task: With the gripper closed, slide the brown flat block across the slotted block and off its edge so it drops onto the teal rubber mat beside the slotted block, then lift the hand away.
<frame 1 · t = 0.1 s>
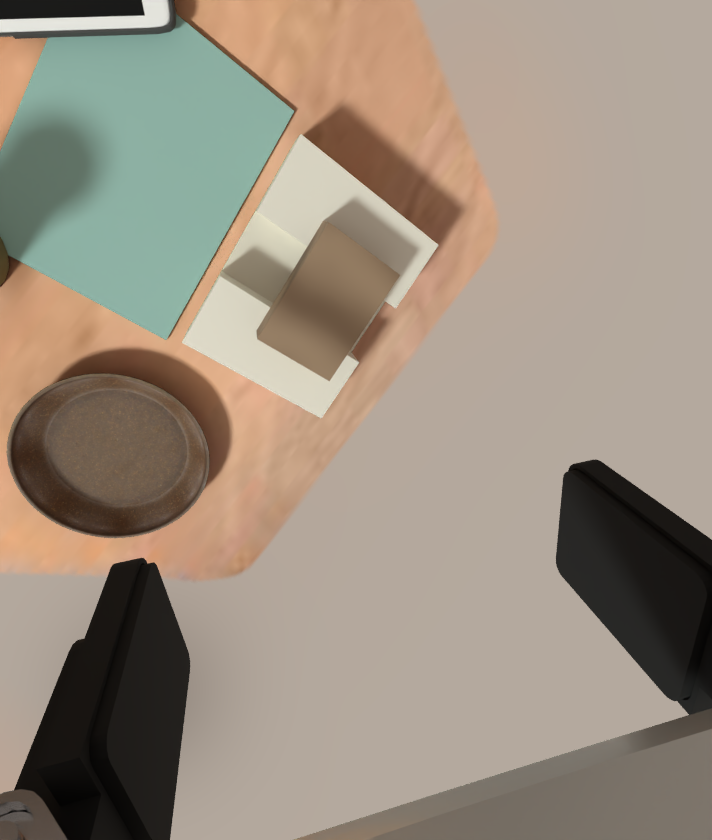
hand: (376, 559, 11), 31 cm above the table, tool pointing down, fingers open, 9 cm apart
mat: (134, 170, 33), on the table
brown flat block: (323, 300, 35), point 4 cm above the table, touching slotted block
slotted block: (305, 285, 38), on the table
saucer: (121, 446, 41), on the table
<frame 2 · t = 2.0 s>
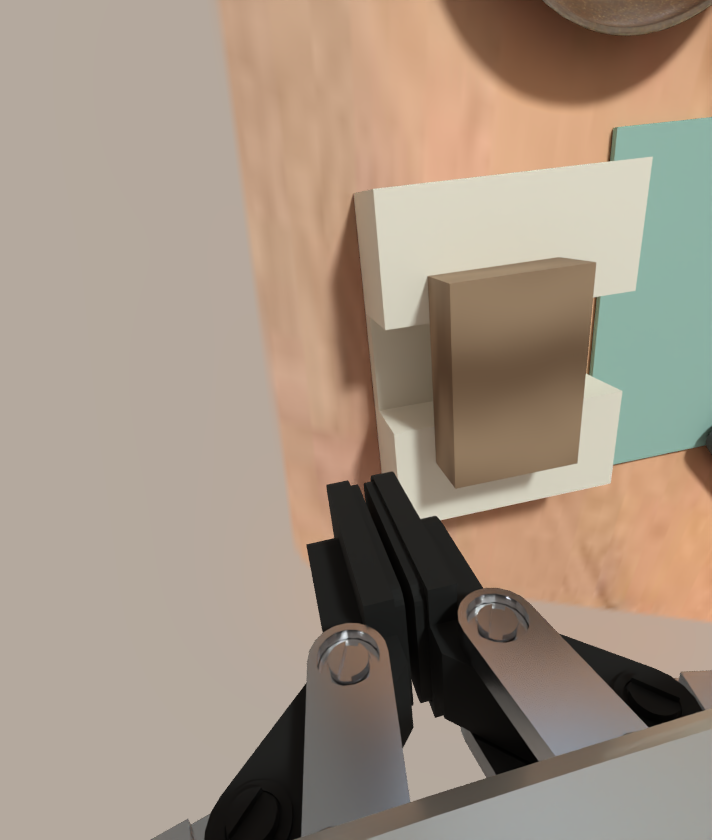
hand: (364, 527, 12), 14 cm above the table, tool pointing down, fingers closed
mat: (703, 305, 28), on the table
brown flat block: (493, 366, 22), point 4 cm above the table, touching slotted block
slotted block: (477, 342, 26), on the table
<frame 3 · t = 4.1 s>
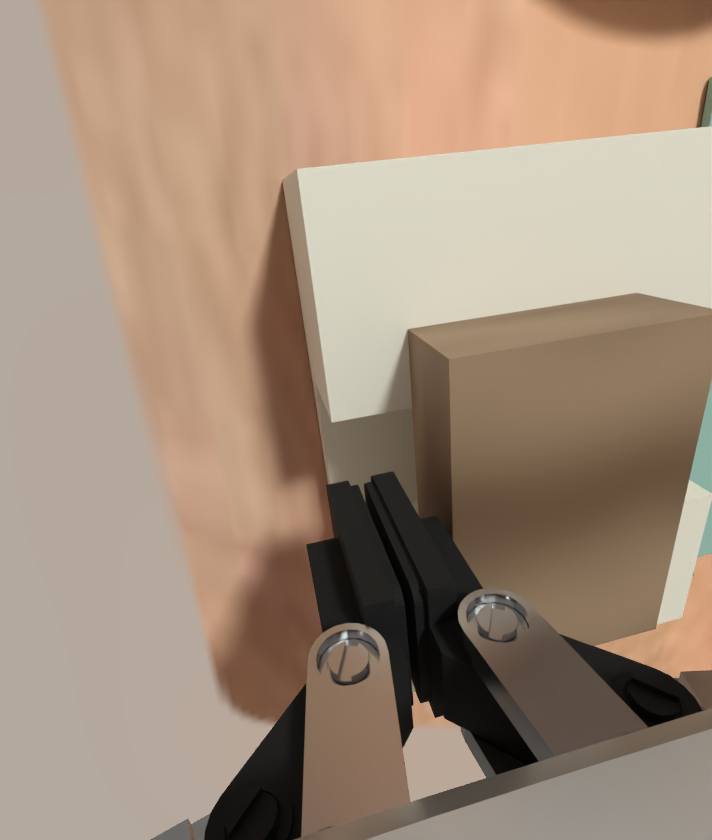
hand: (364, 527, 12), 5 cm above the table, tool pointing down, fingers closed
brown flat block: (519, 470, 13), point 4 cm above the table, touching gripper
slotted block: (485, 410, 17), on the table
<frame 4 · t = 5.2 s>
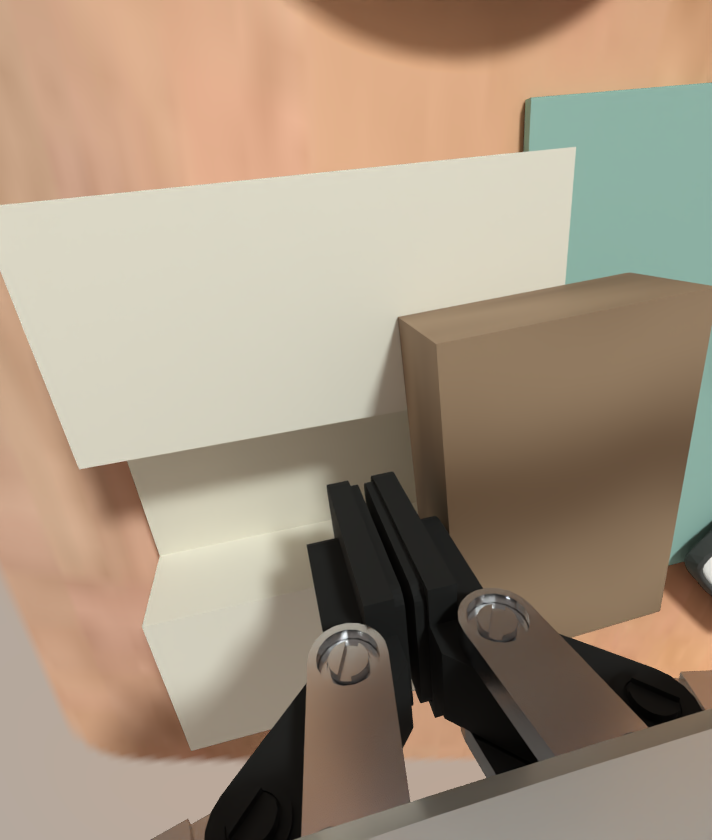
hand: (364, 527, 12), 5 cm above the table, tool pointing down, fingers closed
mat: (680, 376, 19), on the table
brown flat block: (516, 455, 13), point 4 cm above the table, touching slotted block, gripper
slotted block: (324, 442, 16), on the table
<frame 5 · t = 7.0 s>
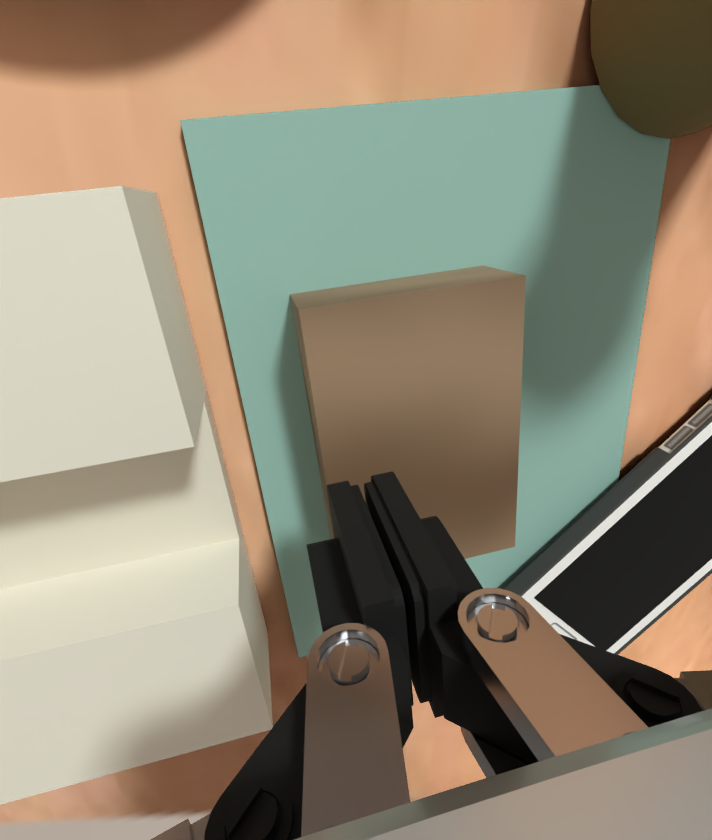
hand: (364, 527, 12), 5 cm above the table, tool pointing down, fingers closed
pepper mill: (680, 17, 13), on the table, touching mat
mat: (452, 416, 17), on the table
brown flat block: (425, 448, 14), point 3 cm above the table, tilted 180°, touching mat
slotted block: (29, 496, 15), on the table
cell phone: (648, 524, 21), on the table, touching mat
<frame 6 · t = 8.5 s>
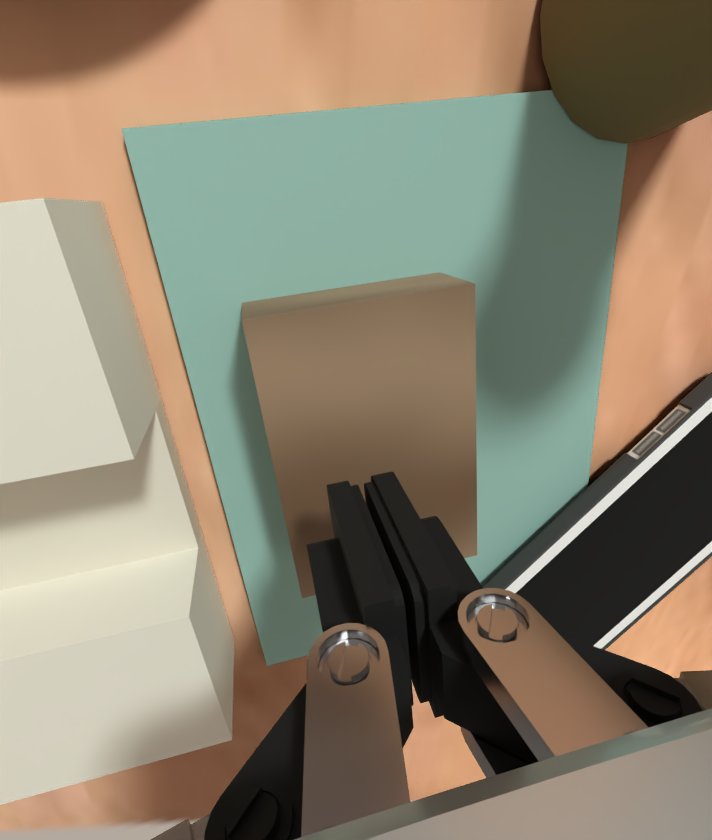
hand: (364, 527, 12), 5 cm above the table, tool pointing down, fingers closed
pepper mill: (634, 21, 13), on the table, touching mat
mat: (415, 423, 17), on the table
brown flat block: (379, 457, 14), point 3 cm above the table, tilted 180°, touching mat
cell phone: (620, 530, 21), on the table, touching mat
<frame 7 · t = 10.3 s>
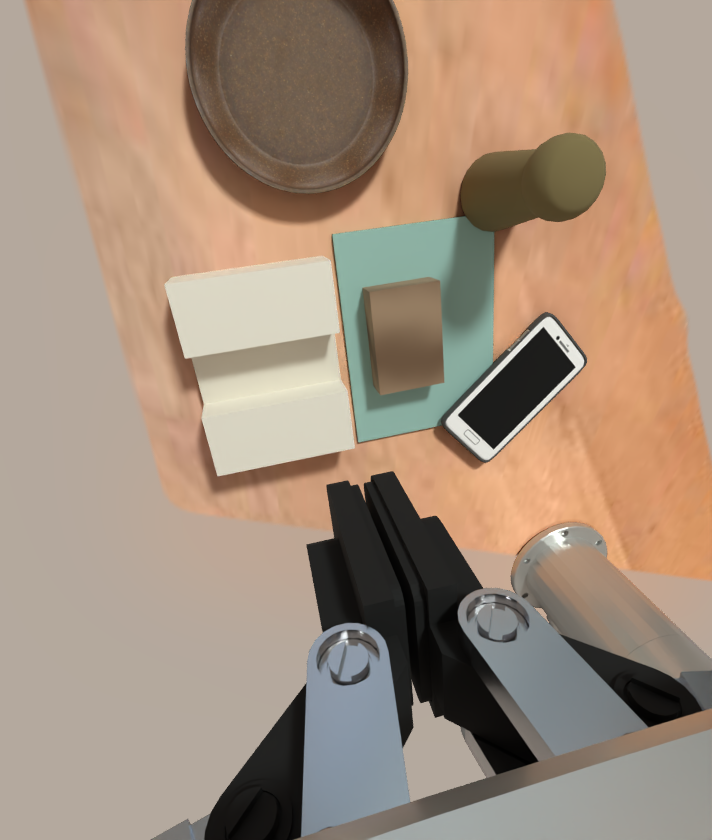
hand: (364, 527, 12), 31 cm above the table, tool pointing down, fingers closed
pepper mill: (493, 193, 40), on the table, touching mat
mat: (420, 334, 44), on the table
brown flat block: (409, 340, 41), point 3 cm above the table, tilted 180°, touching mat
slotted block: (267, 361, 42), on the table
saucer: (297, 80, 34), on the table
cell phone: (510, 388, 48), on the table, touching mat
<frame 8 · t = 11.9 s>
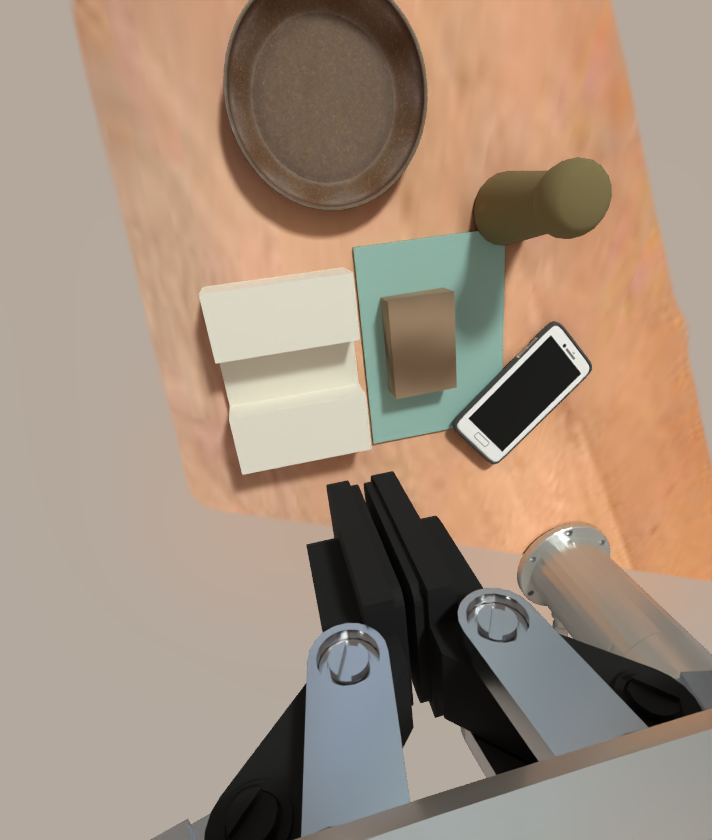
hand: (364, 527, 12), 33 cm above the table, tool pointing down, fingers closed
pepper mill: (504, 209, 42), on the table, touching mat
mat: (434, 341, 46), on the table
brown flat block: (424, 347, 43), point 3 cm above the table, tilted 180°, touching mat
slotted block: (290, 366, 44), on the table
saucer: (324, 105, 37), on the table
cell phone: (518, 393, 50), on the table, touching mat
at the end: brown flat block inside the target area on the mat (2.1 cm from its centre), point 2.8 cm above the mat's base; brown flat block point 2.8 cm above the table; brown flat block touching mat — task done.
